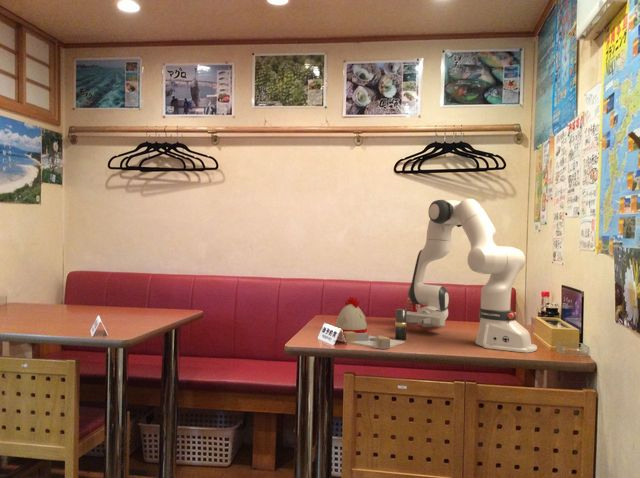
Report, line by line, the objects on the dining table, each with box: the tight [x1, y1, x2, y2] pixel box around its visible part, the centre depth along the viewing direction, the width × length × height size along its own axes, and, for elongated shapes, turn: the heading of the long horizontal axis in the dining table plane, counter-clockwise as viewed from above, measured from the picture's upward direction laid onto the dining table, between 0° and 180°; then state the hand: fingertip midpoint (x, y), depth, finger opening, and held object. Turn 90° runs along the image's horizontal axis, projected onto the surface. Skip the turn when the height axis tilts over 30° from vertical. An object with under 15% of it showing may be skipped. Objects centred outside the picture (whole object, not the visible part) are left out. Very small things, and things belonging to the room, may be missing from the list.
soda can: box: [404, 297, 421, 325], centre depth 246 cm, size 7×7×12 cm
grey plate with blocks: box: [343, 331, 406, 350], centre depth 197 cm, size 24×17×4 cm
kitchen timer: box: [335, 296, 368, 333], centre depth 221 cm, size 14×14×15 cm
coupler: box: [394, 308, 408, 341], centre depth 205 cm, size 5×5×12 cm
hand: (412, 320), depth 213 cm, fingers open, 8 cm apart
